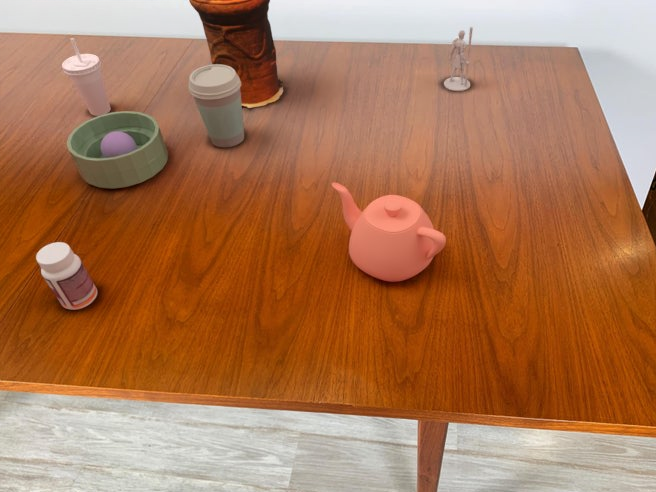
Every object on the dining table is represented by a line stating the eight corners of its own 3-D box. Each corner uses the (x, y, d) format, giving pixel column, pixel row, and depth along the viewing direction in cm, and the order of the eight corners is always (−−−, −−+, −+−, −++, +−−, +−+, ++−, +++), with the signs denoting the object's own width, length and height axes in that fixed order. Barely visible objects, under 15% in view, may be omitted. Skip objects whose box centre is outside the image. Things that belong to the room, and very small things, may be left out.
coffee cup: (238, 120, 108) (224, 57, 99) (260, 141, 103) (248, 77, 94) (195, 135, 104) (177, 72, 95) (216, 158, 100) (199, 93, 91)
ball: (105, 174, 96) (92, 145, 92) (110, 154, 99) (98, 126, 95) (139, 170, 96) (128, 142, 92) (143, 151, 100) (132, 123, 96)
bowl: (74, 195, 93) (58, 164, 88) (89, 145, 102) (75, 115, 98) (165, 186, 94) (154, 154, 90) (171, 137, 104) (162, 107, 99)
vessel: (198, 103, 112) (169, -5, 97) (234, 69, 121) (212, -35, 106) (266, 115, 109) (246, 5, 94) (297, 79, 118) (284, -27, 103)
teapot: (419, 305, 77) (422, 254, 70) (312, 253, 83) (305, 202, 76) (463, 252, 83) (469, 200, 76) (360, 208, 90) (358, 157, 83)
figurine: (475, 84, 116) (482, 24, 107) (457, 94, 113) (463, 32, 104) (456, 75, 118) (461, 15, 109) (438, 84, 116) (442, 23, 107)
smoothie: (91, 123, 107) (59, 49, 97) (77, 110, 110) (44, 37, 100) (123, 110, 110) (96, 37, 100) (109, 98, 113) (80, 26, 103)
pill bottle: (103, 284, 80) (79, 239, 74) (90, 311, 76) (63, 266, 70) (69, 284, 80) (42, 239, 74) (54, 310, 77) (25, 265, 70)
